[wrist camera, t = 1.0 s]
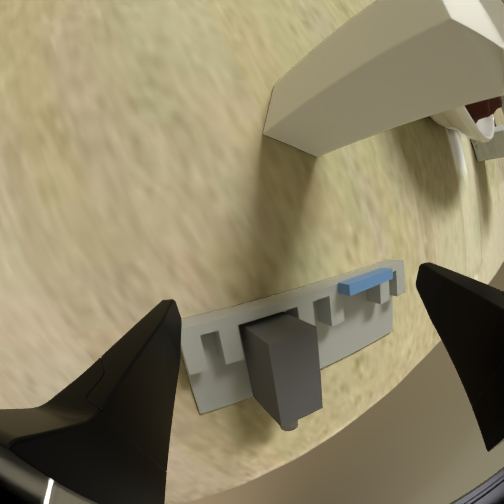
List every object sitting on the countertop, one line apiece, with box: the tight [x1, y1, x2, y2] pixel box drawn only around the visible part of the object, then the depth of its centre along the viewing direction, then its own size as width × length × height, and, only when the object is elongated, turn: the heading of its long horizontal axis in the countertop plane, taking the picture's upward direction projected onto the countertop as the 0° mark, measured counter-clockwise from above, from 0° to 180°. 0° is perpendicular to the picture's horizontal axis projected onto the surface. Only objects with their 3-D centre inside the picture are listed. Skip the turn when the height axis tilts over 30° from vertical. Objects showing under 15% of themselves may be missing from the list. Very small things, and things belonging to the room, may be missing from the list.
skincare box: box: [471, 125, 504, 162], centre depth 37 cm, size 8×6×15 cm
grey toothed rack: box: [181, 259, 405, 414], centre depth 24 cm, size 9×24×4 cm, turn 101°
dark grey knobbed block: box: [239, 312, 323, 431], centre depth 21 cm, size 10×4×6 cm, turn 11°
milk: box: [263, 0, 504, 157], centre depth 14 cm, size 6×6×22 cm
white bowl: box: [430, 96, 502, 143], centre depth 27 cm, size 25×25×15 cm
